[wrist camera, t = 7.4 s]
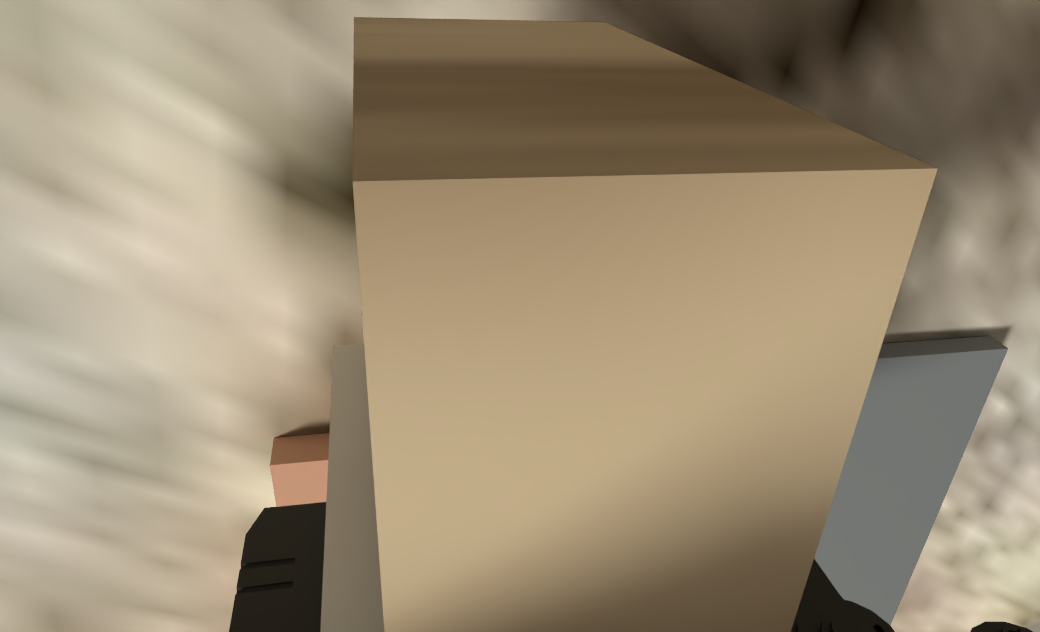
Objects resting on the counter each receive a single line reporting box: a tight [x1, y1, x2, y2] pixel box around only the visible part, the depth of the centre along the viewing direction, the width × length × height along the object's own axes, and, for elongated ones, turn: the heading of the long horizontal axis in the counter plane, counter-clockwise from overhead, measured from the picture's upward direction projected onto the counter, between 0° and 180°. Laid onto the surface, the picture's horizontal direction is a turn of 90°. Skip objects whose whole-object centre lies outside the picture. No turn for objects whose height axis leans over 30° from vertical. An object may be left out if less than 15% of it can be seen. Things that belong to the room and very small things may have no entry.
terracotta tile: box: [270, 433, 329, 507], centre depth 24 cm, size 2×10×12 cm
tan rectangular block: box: [353, 17, 938, 632], centre depth 11 cm, size 13×10×8 cm
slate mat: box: [814, 336, 1008, 625], centre depth 26 cm, size 15×11×1 cm
